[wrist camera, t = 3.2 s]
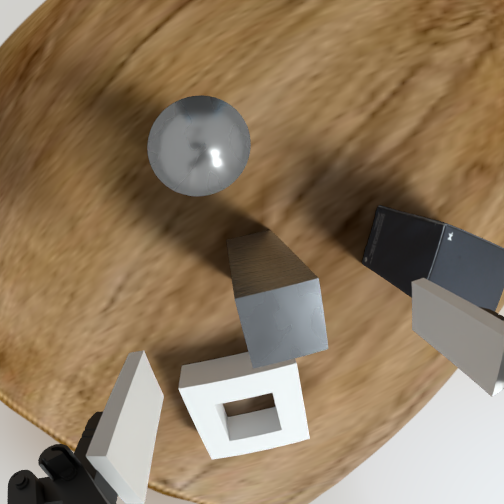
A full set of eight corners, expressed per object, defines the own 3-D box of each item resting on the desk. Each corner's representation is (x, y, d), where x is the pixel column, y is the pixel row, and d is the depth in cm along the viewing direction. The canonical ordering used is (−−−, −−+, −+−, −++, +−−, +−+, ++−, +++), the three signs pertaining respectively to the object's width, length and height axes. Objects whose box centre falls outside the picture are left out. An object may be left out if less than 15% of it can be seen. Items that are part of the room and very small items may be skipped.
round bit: (177, 143, 26) (139, 110, 12) (227, 131, 26) (238, 86, 12) (188, 192, 27) (159, 207, 13) (238, 180, 27) (260, 183, 13)
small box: (358, 267, 30) (416, 307, 20) (376, 203, 29) (444, 218, 19) (433, 284, 32) (494, 320, 21) (450, 229, 30) (517, 251, 20)
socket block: (181, 365, 30) (178, 388, 26) (287, 341, 31) (296, 363, 27) (211, 435, 33) (212, 459, 29) (301, 416, 34) (309, 438, 30)
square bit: (226, 239, 28) (234, 298, 14) (270, 229, 28) (318, 278, 15) (236, 281, 29) (252, 368, 15) (278, 271, 29) (328, 348, 16)
